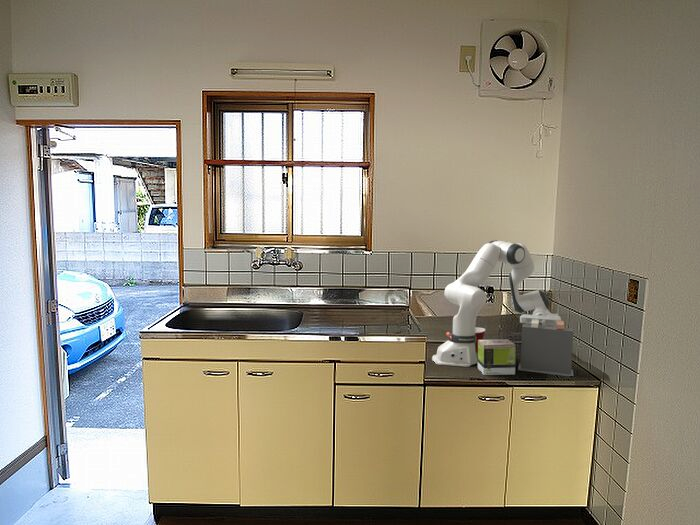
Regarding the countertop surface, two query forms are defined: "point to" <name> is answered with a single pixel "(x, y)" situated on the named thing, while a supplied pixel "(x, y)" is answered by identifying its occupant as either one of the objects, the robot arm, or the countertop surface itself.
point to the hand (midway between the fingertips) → (539, 323)
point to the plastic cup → (479, 336)
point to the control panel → (546, 350)
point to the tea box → (496, 357)
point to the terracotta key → (560, 325)
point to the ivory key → (535, 323)
